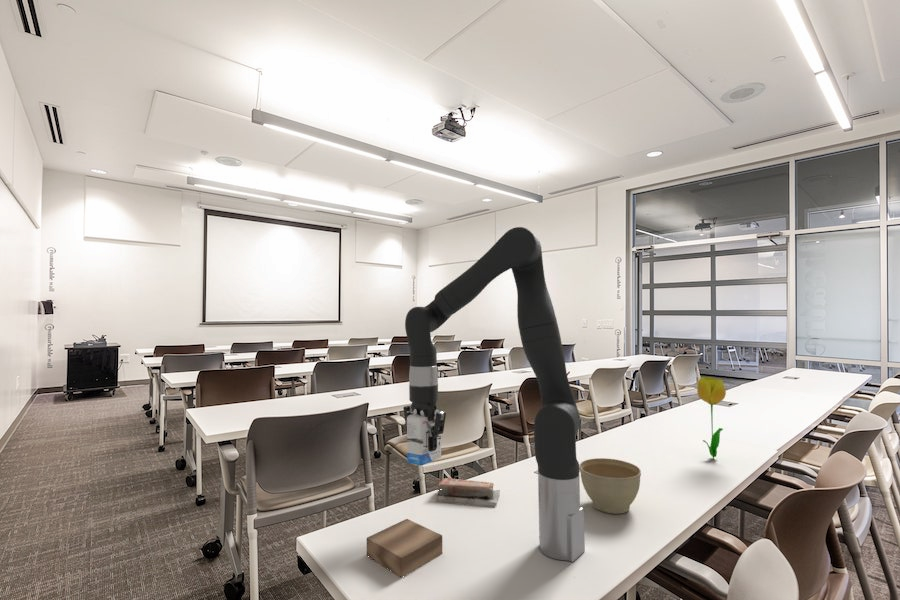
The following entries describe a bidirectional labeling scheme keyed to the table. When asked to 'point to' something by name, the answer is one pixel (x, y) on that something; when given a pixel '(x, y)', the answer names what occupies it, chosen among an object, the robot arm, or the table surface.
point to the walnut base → (404, 547)
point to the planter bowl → (610, 483)
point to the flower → (712, 394)
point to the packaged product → (467, 492)
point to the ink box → (420, 441)
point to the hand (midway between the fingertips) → (424, 448)
